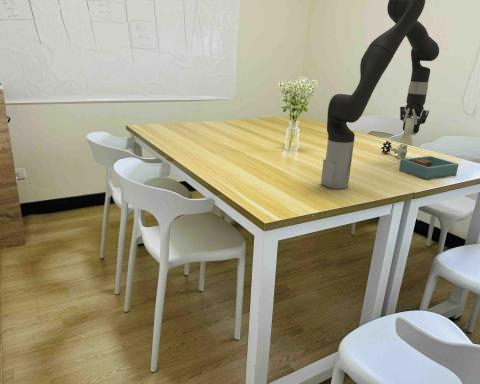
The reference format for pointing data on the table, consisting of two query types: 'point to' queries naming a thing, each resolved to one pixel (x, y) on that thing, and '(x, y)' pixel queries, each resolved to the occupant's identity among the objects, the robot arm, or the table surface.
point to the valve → (395, 149)
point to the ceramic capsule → (409, 126)
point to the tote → (429, 168)
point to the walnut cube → (423, 162)
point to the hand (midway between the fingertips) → (410, 131)
